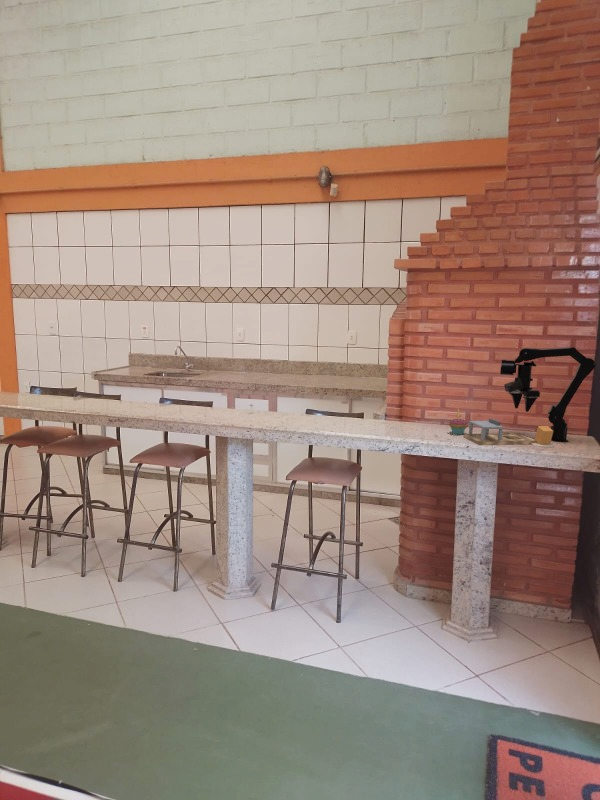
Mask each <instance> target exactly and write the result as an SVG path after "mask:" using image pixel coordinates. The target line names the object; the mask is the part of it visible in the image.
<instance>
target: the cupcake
mask: <svg viewBox="0 0 600 800" xmlns="http://www.w3.org/2000/svg"><path fill="white" fill-rule="evenodd" d="M448 426H449V427H450V429H451V432H452V435H455V436H456V435H459V436H460V435H461V436H462V435H464V434H465V430H466V429H467V428H469V422H468V421H467V420H465V419H461V418H460V408H459V407H457V418H453V419H452V420H450V421H449V424H448Z"/></svg>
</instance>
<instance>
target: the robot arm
mask: <svg viewBox="0 0 600 800" xmlns="http://www.w3.org/2000/svg"><path fill="white" fill-rule="evenodd" d="M558 357H571V358H572V359H573V360H575V361H576V362H577V363H578V366H577V369H576V371H575V374H574V376H573V378H572V379H571V381H570V383H569V385H568V386H567V388H566V390H565V391H564V393H563V394H562V396H561V397H560V399H559V401H558V402H557V403H556V404H554V403H552V404H551V406H550V408H549V409H548V410H547V419H548V421H549V422H550V424H552V425H550V428H551V429H552V430H553V435H552V438H551V441H553V442H555V443H559V442H562V443H563V442H569V440H568V439H567V437H568V427H567V426H568V424H567V421H566V420H565V418H564V416H565V413H566V411H567V408H568V405H569V404H570V403H571V401H572V399H573V398H574V396H575V394H576V392H577V391H578V389H579V388H580V386H581V384H582V383H583V381H584V380H585V379H586V378H587V377H588V376H589V375H590V374H591V373H592V372H593V370H595V368H596V362H595V360H594V359H592V357H588V356H587V357H586V356H584V354H583V353H581V352H580V351H579V350H578V349H577V348H576V347H574V346H568V347H555V348H553V347H552V348H534V347H523V348H521V349H520V351H519V353H518V356H517V357H515V359H514V360H509V359H502V360H501V366H500V371H499V372H500V375H503V376H505V375H506V376H514V374H516V373H517V377H515V378H514V381H513V380H512V381H510V382H507V383H505V384H503V386H504V390H505V392H507V393H508V394H509V395H510V396H511V398H512V400H513V405H514V409H519V406H520V404H521V403H520V402H521V400H522V398H523V399H524V409H525V412H527V413H528V412H530V410H531V408H532V406H533V405H534V403H535V402H536V400H537V399H539V398H540V397H541V392H540V391H539V390H537V389H533V387H531V382H533V380H534V378H532V367H537V364H536V363H535V362H534V360H537V359H541V358H542V359H543V358H558ZM522 362H523V363H522Z"/></svg>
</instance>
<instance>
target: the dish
mask: <svg viewBox="0 0 600 800" xmlns="http://www.w3.org/2000/svg"><path fill="white" fill-rule="evenodd" d="M530 446H534V447H538V448H553V447H554V446H555V444H554V443H552V442H550V445H540V444H539V443H531V445H530Z"/></svg>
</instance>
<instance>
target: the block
mask: <svg viewBox="0 0 600 800" xmlns="http://www.w3.org/2000/svg"><path fill="white" fill-rule="evenodd" d="M552 435H553V430H552V429H551V427H550V426H549V425H546V426H545V425H539V426H537V429H536V433H535V437H534V440H536V441H537V442H538V443H539V444H540V445H550V443H552V442H551V441H552V440H551V438H552Z"/></svg>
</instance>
